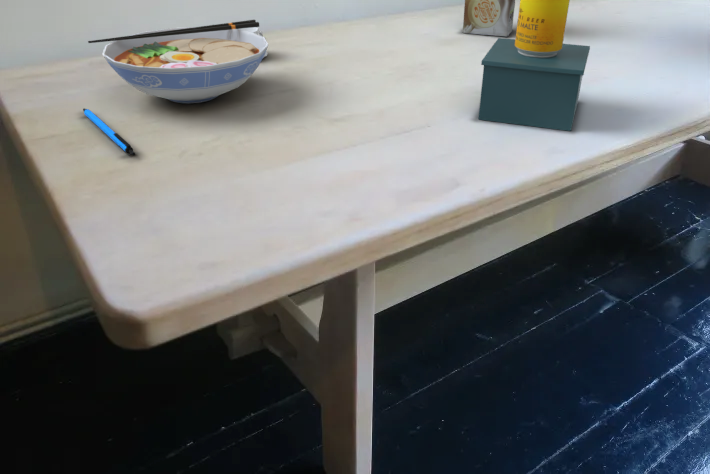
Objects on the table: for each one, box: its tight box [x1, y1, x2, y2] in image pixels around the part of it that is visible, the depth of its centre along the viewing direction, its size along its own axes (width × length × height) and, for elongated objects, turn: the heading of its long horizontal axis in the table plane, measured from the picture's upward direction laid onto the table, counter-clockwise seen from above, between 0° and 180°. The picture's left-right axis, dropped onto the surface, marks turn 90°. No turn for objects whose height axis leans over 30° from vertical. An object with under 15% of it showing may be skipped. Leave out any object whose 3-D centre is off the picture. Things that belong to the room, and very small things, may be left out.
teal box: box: [478, 37, 591, 132], centre depth 90 cm, size 13×13×8 cm
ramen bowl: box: [87, 19, 269, 105], centre depth 95 cm, size 25×23×8 cm
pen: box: [82, 108, 136, 156], centre depth 84 cm, size 1×19×1 cm, turn 36°
